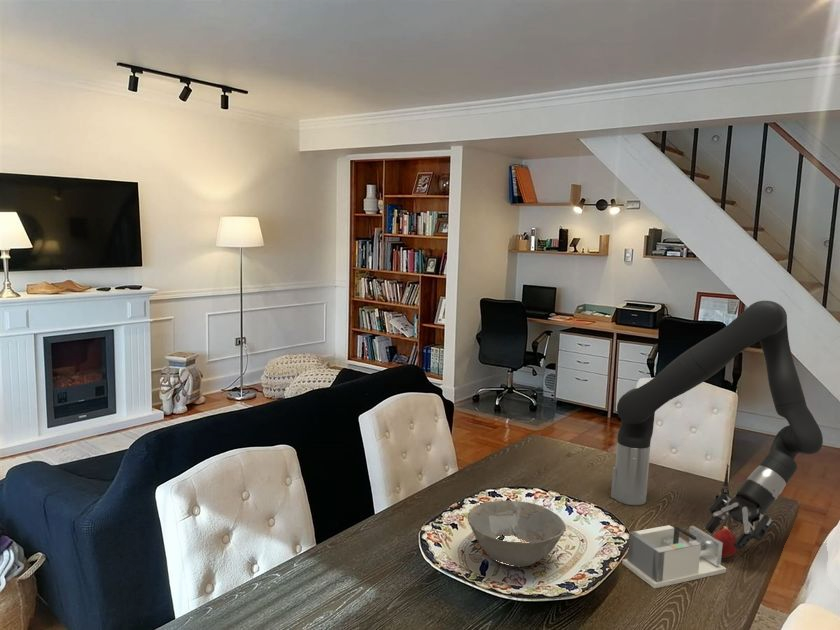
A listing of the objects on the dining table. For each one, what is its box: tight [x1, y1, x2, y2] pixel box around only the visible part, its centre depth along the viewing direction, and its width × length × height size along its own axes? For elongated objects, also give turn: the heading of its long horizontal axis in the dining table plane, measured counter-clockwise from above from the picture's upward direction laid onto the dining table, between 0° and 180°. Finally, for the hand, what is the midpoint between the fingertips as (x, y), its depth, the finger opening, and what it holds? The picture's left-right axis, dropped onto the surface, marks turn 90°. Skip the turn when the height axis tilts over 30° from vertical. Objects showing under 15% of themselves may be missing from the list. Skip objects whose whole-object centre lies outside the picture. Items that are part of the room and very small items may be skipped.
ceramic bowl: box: [467, 499, 567, 567], centre depth 149 cm, size 22×23×10 cm
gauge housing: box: [621, 524, 727, 590], centre depth 147 cm, size 21×11×8 cm, turn 111°
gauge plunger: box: [662, 524, 723, 566], centre depth 147 cm, size 11×10×9 cm
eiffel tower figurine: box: [713, 463, 736, 514], centre depth 183 cm, size 15×10×13 cm
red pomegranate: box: [712, 525, 739, 559], centre depth 152 cm, size 6×6×8 cm
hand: (722, 539), depth 152 cm, fingers open, 8 cm apart
